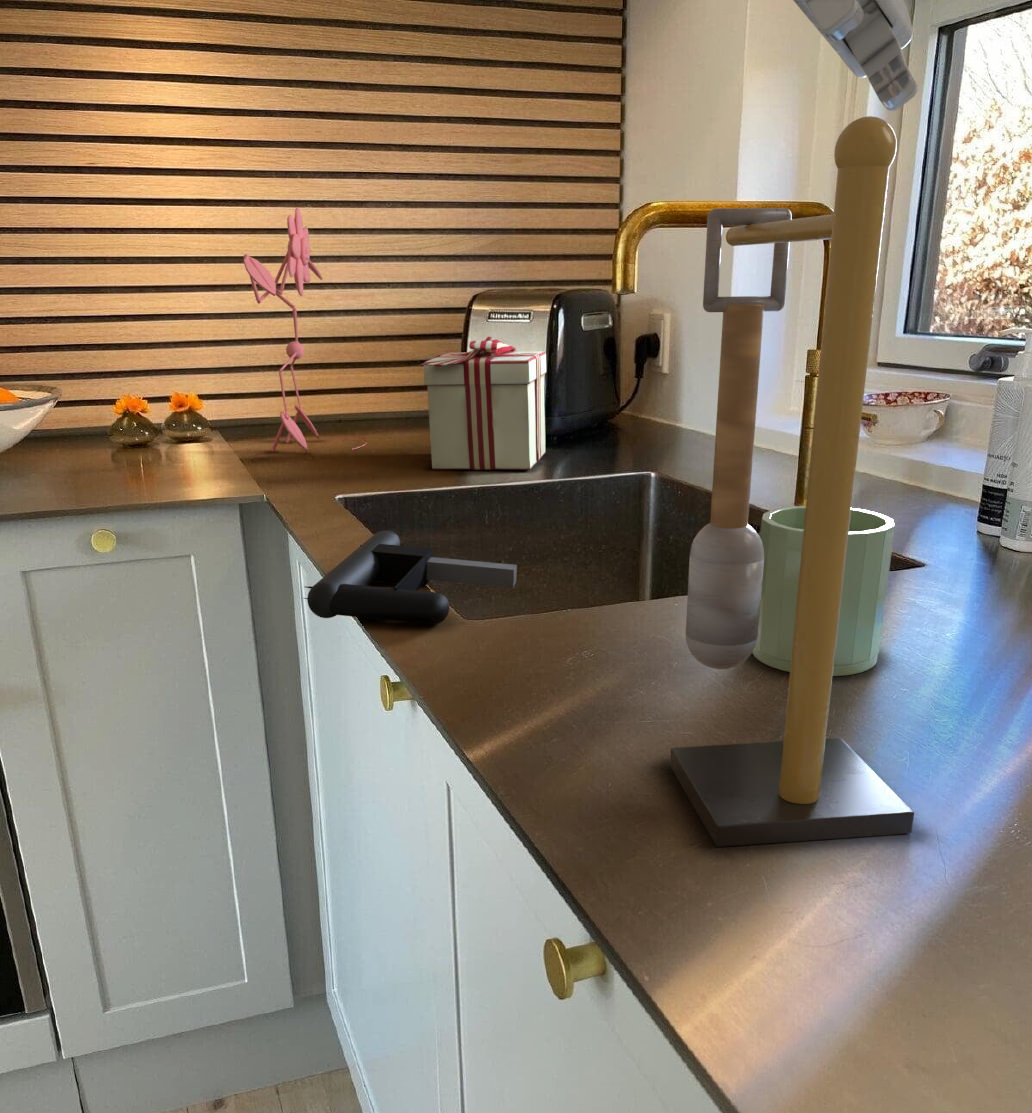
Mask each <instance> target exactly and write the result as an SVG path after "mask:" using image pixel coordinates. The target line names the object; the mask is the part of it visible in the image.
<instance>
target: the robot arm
mask: <svg viewBox="0 0 1032 1113" xmlns="http://www.w3.org/2000/svg"><path fill="white" fill-rule="evenodd" d="M792 1H793V2H794V3H795V5H796V6H797V7H798V8H799V9H800V11H801V12H802V13H803V15H805V17H806V18H807V19H808V20H809V21H810V22H811V23H812V25H813V26H814V27H815V28H816V30H817V31H818V32H819V33H820V34H821V36H822V37H823V38H824V39H825V41H826V42H827V43H828V44H829V45H830V46H831V48H832V49H833V50H834V51H835V52H836V54H837V55H838V56H839V58H840V59H841V60H842V61H843V63H844V64H845V65H846V66H847V68H848V69H849V71H851V73H852V74H853V75H854V76H856V77H857V78H858V79H864V78H866V77H867V78H868V81H869V83H870V85H871V87H872V88H873V90H874V92H875V95H876V96H877V98H878V100H879V101H880V103H881V104H882V105H883V107H884V108H885V109H886V110H887V111H889V112H895V111H897V110H899V109H901V107H903V106H904V105H905V104H907V103H908V102H909V101H911V100H912V99H913V98H914V97H916V94H917V93H918V83H917V82H916V79H915V78H914V76H913V74H912V72H911V70H910V69H909V66H908V64H907V61H906V58H905V55H904V52H903V49H904V48H905V47H906V46H907V45H908V44H909V43H910V42H911V41H912V38H913V35H914V34H913V25H912V20H911V18H910V14H909V11H908V7H907V5H906V2H905V0H792Z"/></svg>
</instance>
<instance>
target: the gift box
mask: <svg viewBox="0 0 1032 1113" xmlns="http://www.w3.org/2000/svg"><path fill="white" fill-rule="evenodd" d="M468 347H469V349H470V350H469V351H467V352H446V353H443V354H438V355H435V357H433V358H432V359H429V360H426V361H424V362H422V363H421V364H419V366H420V367H423V383H424V386H426V388H427V401H428V402H427V404H428V422H429V435H430V436H429V437H430V438H429V439H430V440H429V441H430V453H431V454H430V456H431V469H432V470H471V471H472V470H476V471H477V470H479V471H488V470H489V471H490V470H491V471H492V470H495V471H496V470H499V471H501V470H502V471H503V470H505V471H507V470H509V471H510V470H512V471H530V470H531V469H532V468H533V467H534V466H535V465H536V464H538V463H539V461H540V460H541V458H542V457H543V456H544V455H545V454H546V453H547V452H546V411H545V374H547V353H546V351H544V350H531V351H530V350H527V351H526V350H525V351H516V347H514V346H512V345H510V344H508V343H505V342H502V341H501V340H499V339H497V338H495V337H491V336H487V337H486V338H485V339H484V340H472V341H470V342H469V346H468Z"/></svg>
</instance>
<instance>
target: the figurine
mask: <svg viewBox="0 0 1032 1113" xmlns="http://www.w3.org/2000/svg"><path fill="white" fill-rule="evenodd" d="M302 216H303V215H302V212H301V209H300V208H299V207H298V206H296V207H295V210H294V217H293V215H291V214H288V216H287V218H286V220H287V221H286V222H287V223H286V225H287V226H286V227H287V234H288V239H289V241H288V243H287V251H286V254H285V256H284V258H283V260H282V263H281V265H280V268H279V270H278V271H277V272H278V273H277V275H276V277H275V278H274V277H273V275H272V273H271V272H270V271H269V269H268V268H267V267H265V266H264V265H263V264H262V263H261V262H260V261H259V260H258V259H256V258H255V257H252V256H250V255H249V254H248V253H245V254H243V257H242V258H243V264H244V268H245V271H246V272H247V274H248V275H249V278H250V282H251V287H252V290H253V294H254V298H255V300H256V303H257V304H258V305H260V304H261V303H262V302H263V301H264V300H265V299H266V298H267V297H268V296H269V295H272V296H273V297H277V298H279V300H281V301H282V302H283V303H284V304H286V305H287V306H288V307H289V308H291V310H292V318H293V329H294V339H295V340H294V341H291V342H289V343H288V344H287V346H286V348H285V352H286V355H287V357H289V358H288V359H287V361H286V362H285V363H284V364H283V365H282V367H280V369H279V370H278V375H279V382H280V388H281V394H282V400H283V407H284V411H280V413H279V417H280V419H281V424H280V427H279V429H278V432H277V434H276V437H275V439H274V442H273V444H272V447H271V449H270V451H271V452H275V451H276V448H277V446H278V444H279V441H280V438H281V436H282V433H283V431H284V428H285V429H286V431H287V435H286V438H285V441H284V442H285V443H287V444H289V442H290V440H291V438H292V439H293V440H294V441H295V443H297V444H298V445H299V446H300V447H301V449H303V450H304V451H305V452H308V450H309V449H308V445H307V442H306V438H305V436H304V434H303V432H302V430H301V429H300V428H299V426H298V425H297V422H298V420H299V417H300V419H301V420H302V421H303V423H304V424H305V425H306V426H307V428H308V429H309V431H310V432H311V433H312V434H313V435H314V436H315V437H316V438H317V440H320V438H321V436H320V435H319V433H318V431H317V429H316V427H315V426H314V424H313V422H312V421H311V420H310V419H309V417H308V415H306V413H305V412H304V409H303V408H302V404H301V399H300V395H299V389H298V384H297V381H296V376H295V371H294V364H295V362H296V361H297V360H300V359H301V358H302V357H303V355H304V351H305V349H304V346H303V345H302V343H300V342H299V337H298V336H299V335H298V334H299V333H298V314H297V312H298V311H297V308H296V305H294V303H292V302H291V301H289V300H288V299H286V298H285V297H284V296H283V292H284V288H285V285H286V281H287V277H288V275H289V277H290V278H294V284H295V288H296V290H297V293H298V295H299V296H300V297H302V296H303V294H304V283H305V284H310V281H311V273H310V272H313V273H314V275H315V276H316V277H317V278H318V279H319V280H320V281H323V277H322V275H321V273H320V271H319V270H318V268H317V267H316V265H315V264H314V263H313V262H312V261H311V259H310V257H311V255H310V254H311V248H310V247H311V246H310V243H309V241H310V235H309V234H310V233H309V228H308V226H307V225H305V226H304V223H303V217H302ZM283 271H284V272H283ZM282 273H283V275H282ZM281 276H282V279H281V283H280V287H279V289H278V288H277V286H278V282H279V281H280V278H281ZM257 285H258V286H259V287H260V288H261V289H263V290H264V291H265V292H264V293H262V295H261V296H260V294H259V291H258V286H257ZM288 365H289V368H290V372H291V376H292V380H293V386H294V389H295V394H296V398H297V403H298V404H294V409H295V410H296V413H295V416H294V418H292V417H291V416H290V415H289V413H288V406H287V399H286V392H285V387H284V380H283V379H284V378H283V373H282V372H283V371H284V369H285V368H286V367H287V366H288ZM347 437H353V438H357V439H361V440H364V441H365V443H364V444H362V445H360V446H356V447H354V448H353V447H352V450H357V449H359V448H362V447H364V446H366V445H367V443H368V441H367V437H360V436H356V435H349V434H347ZM255 456H257V457H267V456H268V455H267V454H256V455H255Z"/></svg>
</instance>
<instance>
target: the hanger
mask: <svg viewBox="0 0 1032 1113" xmlns="http://www.w3.org/2000/svg"><path fill="white" fill-rule="evenodd" d="M897 144H898V143H897V136H896V133H895V131H894V129H893V128H892V126H891V124H889V123H888V122H887V121H886V120H884V119H883V118H880V117H878V116H872V115H871V116H869V115H867V116H863V117H859V118H856V119H855V120H853V121H851V122H850V123H849V124H847V125H846V126H845V128H844V129H843V130H842V131H841V133H840V134H839V136H838V137H837V140H836V142H835V146H834V151H833V154H834V156H833V158H834V162H835V167H836V169H837V174H836V185H835V193H834V204H833V214H825V215H817V216H816V215H815V216H807V217H799V218H791V220H783V221H775V222H767V223H759V224H751V225H734V226H731V227H729V228H728V229H727V231H726V233H725V241H726V243H727V244H728V245H729V246H731V247H737V246H738V247H739V246H755V245H766V244H769V245H770V244H774V243H784V242H790V243H796V242H809V241H811V242H813V241H825V240H826V241H827V240H830V246H829V258H828V268H827V269H828V270H827V280H826V289H825V299H824V300H825V301H824V309H823V310H824V311H823V321H822V331H821V332H822V333H821V342H820V351H819V363H818V375H817V383H816V384H817V385H816V394H815V406H814V415H813V425H812V426H813V427H812V437H811V448H810V458H809V468H808V478H807V480H808V481H807V490H806V500H805V506H806V510H805V520H804V531H803V541H802V552H801V562H800V573H799V583H798V594H797V605H796V615H795V626H794V636H793V647H792V657H791V668H790V672H789V678H788V680H789V681H788V689H787V701H786V711H785V721H784V722H785V723H784V731H783V732H784V733H783V740H780V741H766V742H765V741H764V742H750V743H749V742H747V743H731V744H729V743H728V744H715V745H712V744H711V745H698V746H697V745H695V746H683V747H682V746H681V747H679V746H678V747H671V748H670V758H669V760H670V761H669V767H670V769H671V770H672V772H673V774H674V776H675V777H676V780H677V781H678V783H679V784H680V786H681V788H682V789H683V791H684V793H685V794H686V796H687V798H688V800H689V802H690V804H691V805H692V807H693V809H694V810H695V812H696V814H697V815H698V817H699V819H700V821H701V822H702V824H703V826H704V827H705V829H706V831H707V833H708V834H709V836H710V838H711V839H712V841H713V843H714V844H715V847H716V848H722V847H735V846H748V845H763V844H765V845H766V844H777V843H778V844H779V843H791V842H802V841H803V842H804V841H806V842H807V841H819V840H821V841H822V840H833V839H834V840H835V839H847V838H848V839H849V838H862V837H864V838H865V837H875V836H876V837H877V836H891V835H904V834H911V833H912V831H913V823H914V817H915V811H914V810H912V809H911V808H910V806H908V805H907V803H905V801H904V800H903V799H902V798H901V797H900V796H899V795H898V794H897V793H896V792H895V791H894V790H893V789H892V788H891V787H890V786H889V785H888V784H887V783H886V782H885V781H884V780H883V779H882V777H880V776H879V775H878V774H877V773H876V772H875V771H874V770H873V769H872V768H871V767H870V766H869V765H868V764H867V763H866V761H865V760H863V759H862V757H860V756H859V755H858V753H857V752H855V751H854V749H853V748H851V747H850V745H849V744H848V743H847V742H846V741H844V739H843V738H842V737H832V738H831V737H830V738H827V730H828V721H829V712H830V705H831V704H830V702H831V696H832V695H831V693H832V685H833V678H834V676H833V668H834V659H835V650H836V641H837V632H838V623H839V614H840V605H841V596H842V587H843V578H844V569H845V560H846V551H847V542H848V533H849V524H850V515H851V508H852V507H853V506H852V505H853V497H854V489H855V488H854V487H855V478H856V468H857V460H858V451H859V443H860V432H861V425H862V416H863V407H864V399H865V389H866V379H867V373H868V372H867V371H868V361H869V354H870V353H869V352H870V344H871V336H872V335H871V334H872V327H873V326H872V324H873V317H874V310H875V309H874V307H875V299H876V291H877V290H876V289H877V280H878V274H879V272H878V271H879V263H880V254H881V246H882V237H883V226H884V218H885V211H886V210H885V208H886V202H887V200H886V199H887V193H888V192H887V190H888V182H889V174H890V168H891V165H892V164H893V162H894V160H895V158H896V153H897V150H898V148H897V147H898V146H897Z"/></svg>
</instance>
